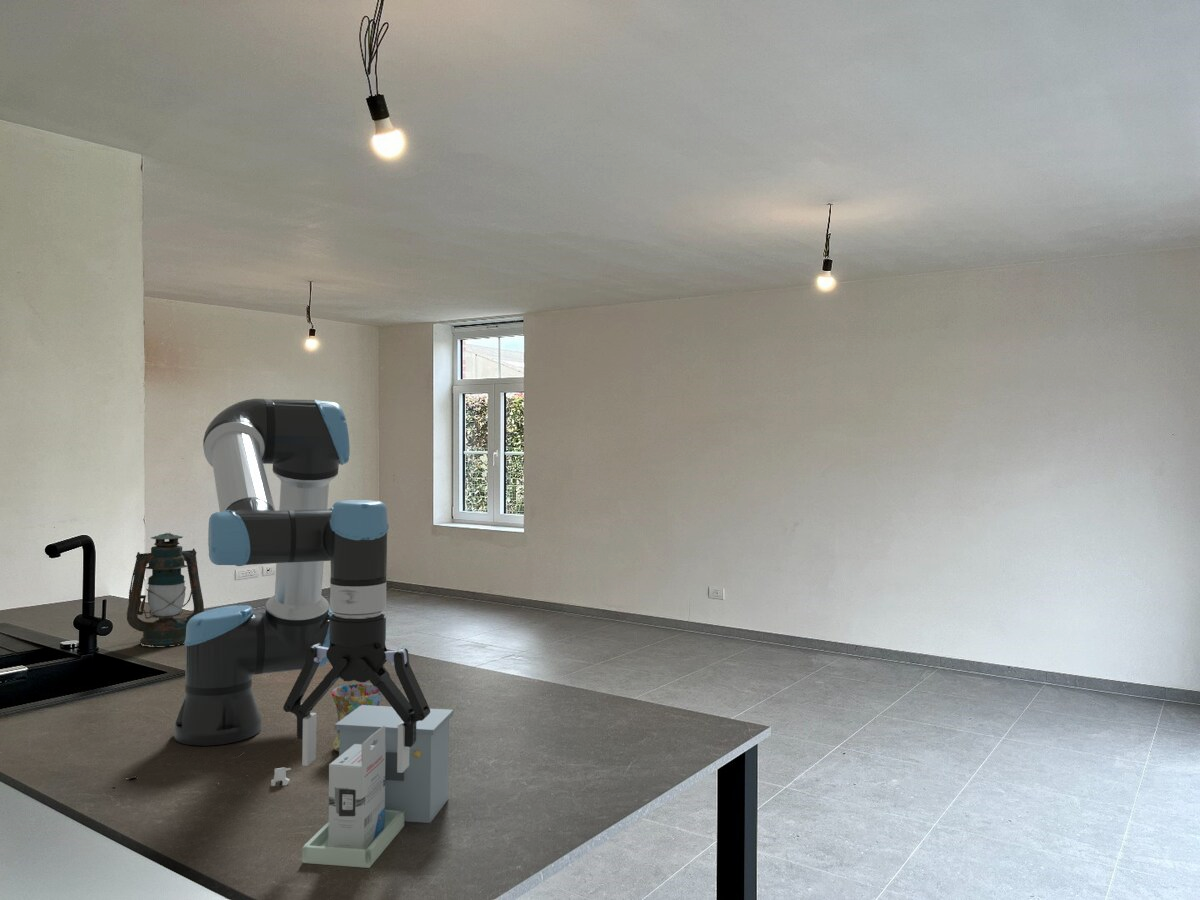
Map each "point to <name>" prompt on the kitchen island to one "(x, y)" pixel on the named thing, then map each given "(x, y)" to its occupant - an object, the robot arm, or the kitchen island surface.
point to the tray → (322, 854)
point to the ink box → (357, 794)
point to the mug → (353, 700)
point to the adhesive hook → (280, 776)
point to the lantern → (164, 592)
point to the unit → (428, 758)
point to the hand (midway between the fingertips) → (355, 765)
